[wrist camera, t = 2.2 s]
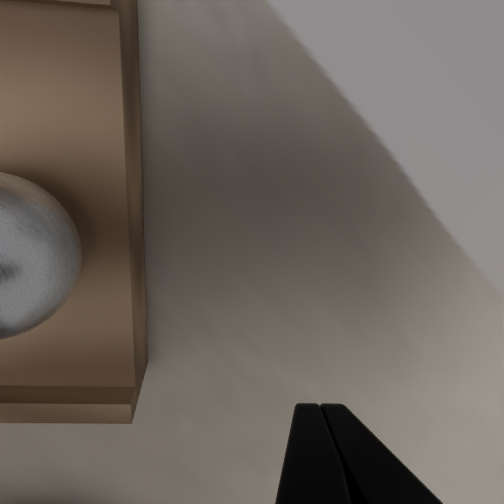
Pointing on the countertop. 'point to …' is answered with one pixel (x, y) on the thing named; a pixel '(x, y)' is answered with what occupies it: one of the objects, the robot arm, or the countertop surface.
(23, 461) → the countertop surface
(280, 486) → the robot arm
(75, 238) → the ball
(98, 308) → the deck
